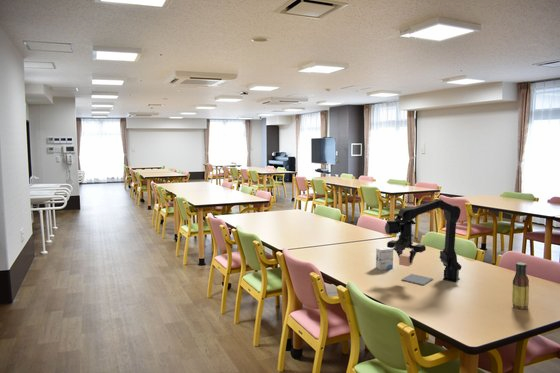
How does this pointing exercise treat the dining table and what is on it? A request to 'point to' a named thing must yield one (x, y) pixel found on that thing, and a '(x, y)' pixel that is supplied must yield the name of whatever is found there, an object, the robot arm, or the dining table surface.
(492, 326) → the dining table surface
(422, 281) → the charcoal mat
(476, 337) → the dining table surface
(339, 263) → the dining table surface
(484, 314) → the dining table surface
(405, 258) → the terracotta cube
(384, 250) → the ink box
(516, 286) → the sauce bottle
